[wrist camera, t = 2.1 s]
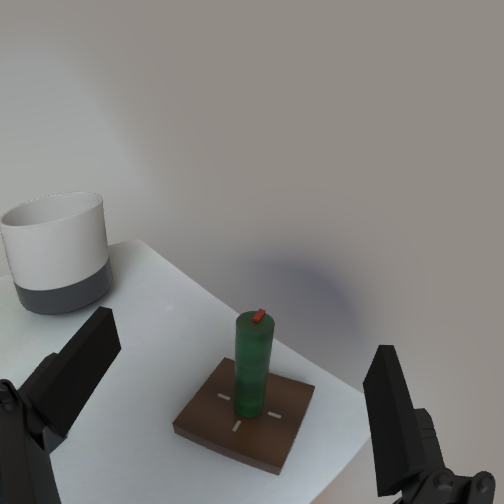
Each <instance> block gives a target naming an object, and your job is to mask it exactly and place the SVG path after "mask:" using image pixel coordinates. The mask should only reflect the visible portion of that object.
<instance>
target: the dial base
mask: <svg viewBox="0 0 504 504" xmlns="http://www.w3.org/2000/svg"><path fill="white" fill-rule="evenodd" d="M234 375H235V361H233V360H231V359H228V358H225V357H224V359H223V360H222V361H221V363H220V364H219V365H218V366H217V368H216V369H215V370H214V372H213V373H212V374H211V375H210V377H209V378H208V379H207V381H206V382H205V383H204V384H203V386H202V387H201V388H200V389H199V391H198V392H197V393H196V395H195V396H194V397H193V398H192V400H191V401H190V402H189V403H188V405H187V406H186V407H185V408H184V409H183V411H182V412H181V413H180V414H179V416H178V417H177V418H176V419H175V421H174V422H173V423H172V424H173V428H174V431H175V433H177V434H179V435H181V436H183V437H185V438H187V439H189V440H191V441H193V442H195V443H197V444H199V445H202V446H204V447H206V448H208V449H210V450H213V451H215V452H217V453H220V454H222V455H224V456H227V457H229V458H232V459H234V460H237V461H239V462H242V463H244V464H247V465H250V466H252V467H255V468H258V469H261V470H264V471H267V472H270V473H273V474H276V475H279V474H280V472H281V470H282V468H283V466H284V464H285V461H286V459H287V457H288V455H289V452H290V450H291V448H292V445H293V443H294V441H295V438H296V436H297V434H298V431H299V429H300V426H301V424H302V421H303V419H304V416H305V414H306V411H307V409H308V406H309V404H310V401H311V398H312V396H313V392H314V389H315V386H313V385H309V384H305V383H302V382H298V381H295V380H292V379H288V378H285V377H282V376H278V375H275V374H272V373H269V372H268V378H267V386H266V393H265V400H264V407H263V411H262V412H261V413H260V414H259V415H258V416H256V417H252V418H246V417H242V416H240V415H239V414H237V413H236V411H235V409H234Z"/></svg>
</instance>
